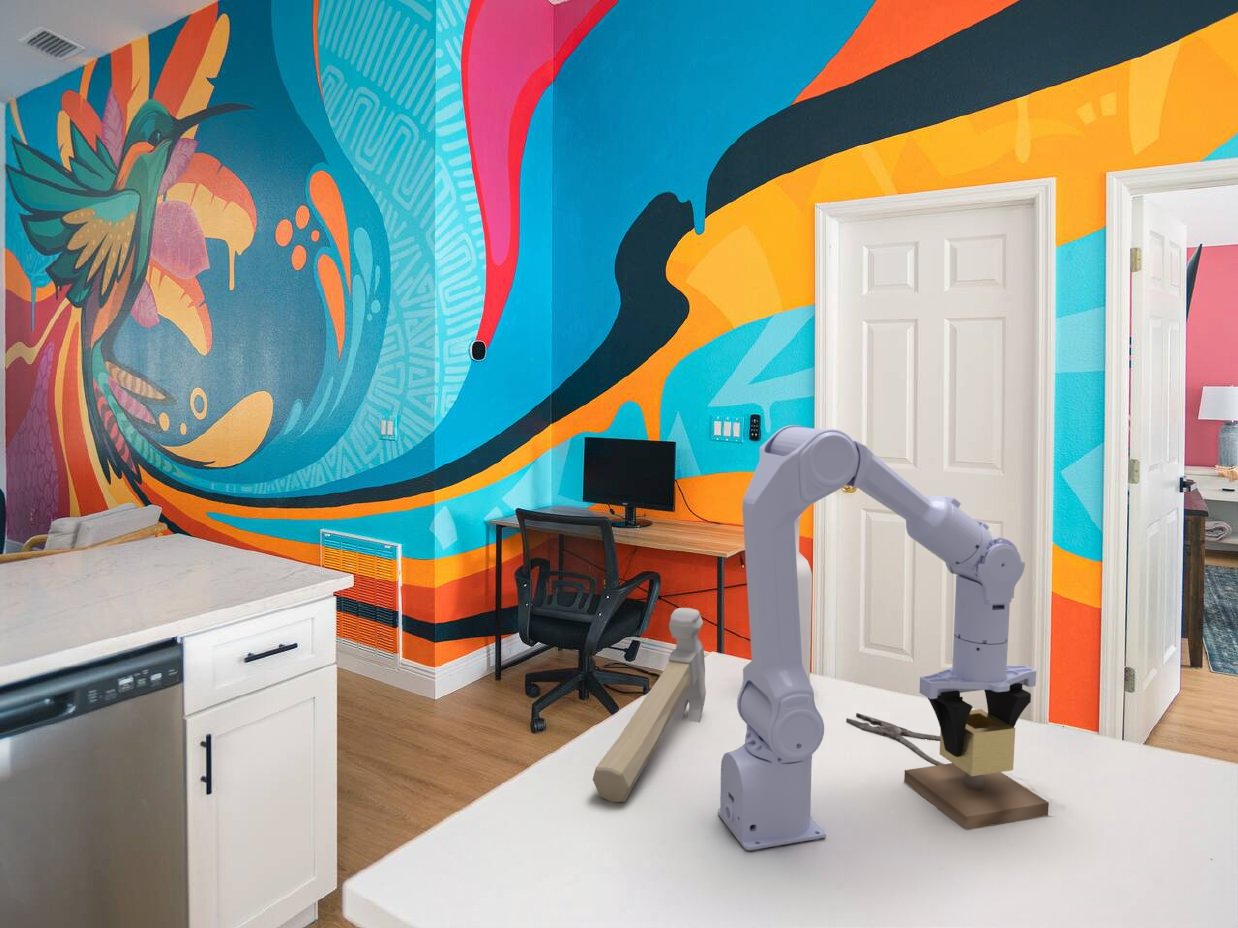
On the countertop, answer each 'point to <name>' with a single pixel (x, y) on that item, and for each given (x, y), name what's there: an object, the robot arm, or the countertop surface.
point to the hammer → (657, 709)
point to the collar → (984, 745)
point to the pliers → (894, 734)
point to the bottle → (804, 601)
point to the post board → (975, 796)
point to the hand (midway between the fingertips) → (975, 749)
